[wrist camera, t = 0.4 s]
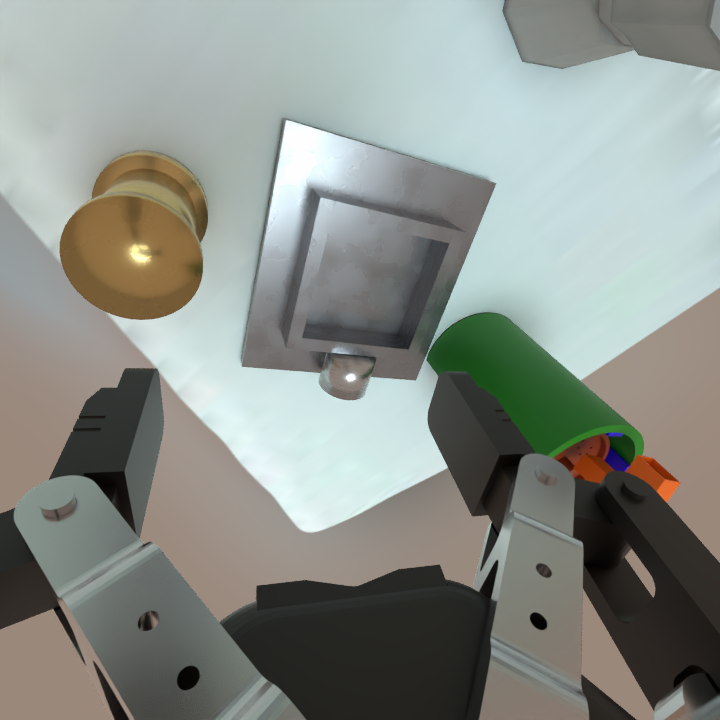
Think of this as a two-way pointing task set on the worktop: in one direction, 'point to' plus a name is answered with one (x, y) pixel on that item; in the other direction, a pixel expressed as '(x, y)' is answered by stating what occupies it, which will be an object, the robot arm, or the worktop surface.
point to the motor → (547, 401)
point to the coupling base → (356, 259)
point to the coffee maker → (615, 30)
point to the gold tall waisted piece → (138, 238)
